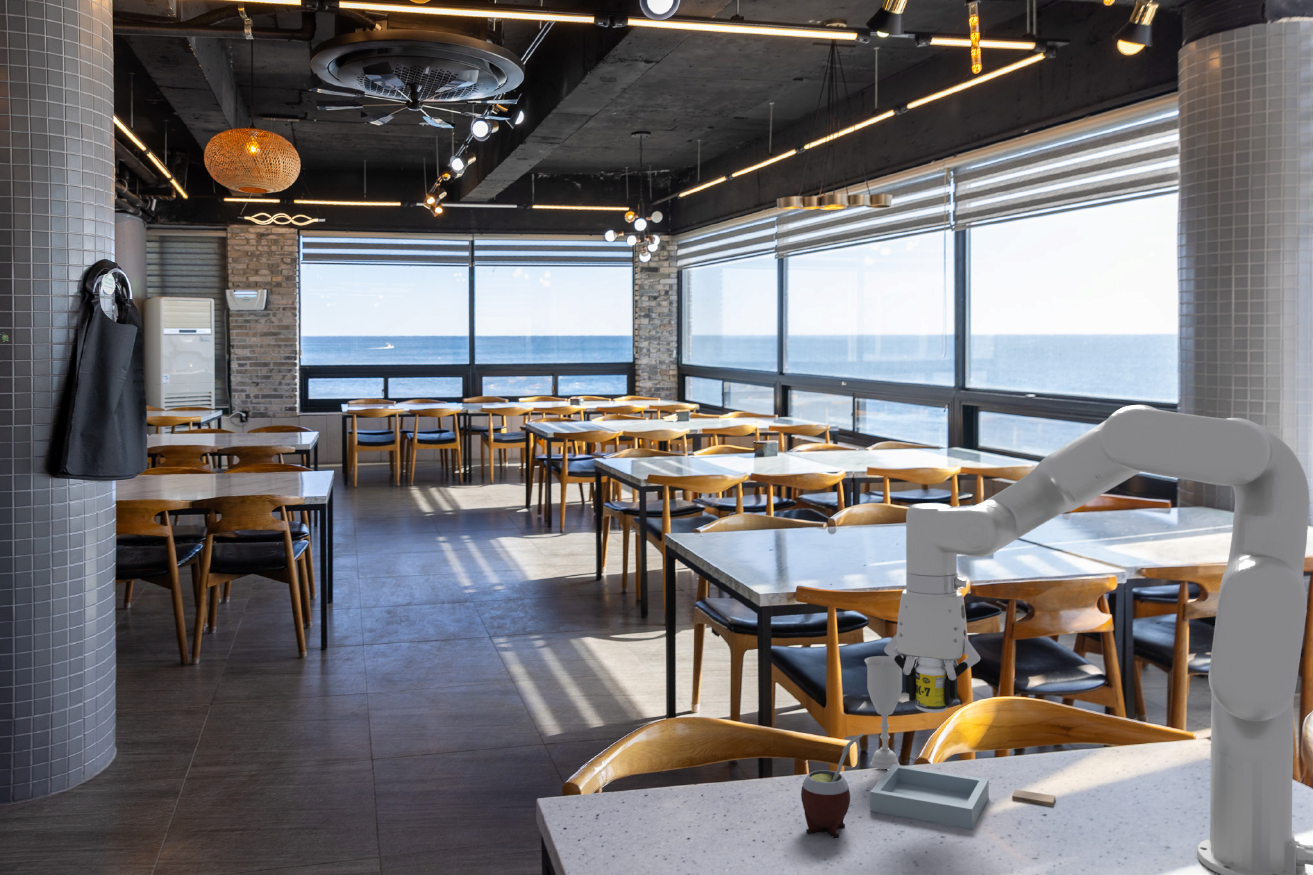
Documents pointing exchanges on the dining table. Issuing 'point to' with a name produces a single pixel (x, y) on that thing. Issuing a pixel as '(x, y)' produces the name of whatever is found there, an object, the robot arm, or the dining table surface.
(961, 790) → the tray
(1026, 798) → the walnut pad
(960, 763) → the dining table surface
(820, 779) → the mate gourd
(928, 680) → the supplement bottle
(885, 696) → the chalice
